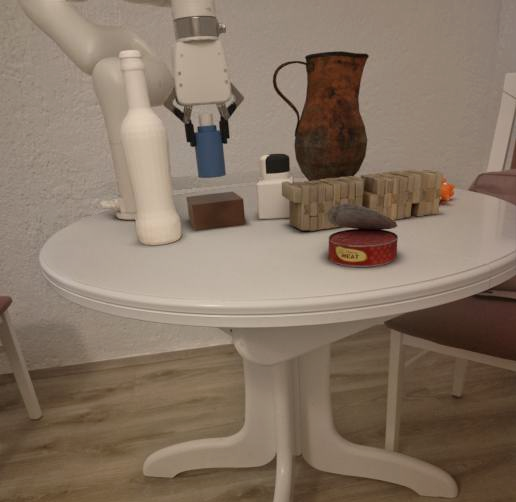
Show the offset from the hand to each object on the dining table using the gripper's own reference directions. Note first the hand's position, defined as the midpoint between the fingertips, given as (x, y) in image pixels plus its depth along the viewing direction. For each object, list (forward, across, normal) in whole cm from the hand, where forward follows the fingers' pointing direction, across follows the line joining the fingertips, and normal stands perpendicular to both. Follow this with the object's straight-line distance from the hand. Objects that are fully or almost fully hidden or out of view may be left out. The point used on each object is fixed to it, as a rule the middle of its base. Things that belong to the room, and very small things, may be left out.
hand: (208, 143), depth 92 cm
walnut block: (+15, 0, 0) cm, 15 cm away
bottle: (+15, +12, +9) cm, 21 cm away
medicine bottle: (+15, -13, 0) cm, 20 cm away
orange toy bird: (+15, -47, +5) cm, 50 cm away
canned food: (+15, -16, +35) cm, 41 cm away
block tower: (+15, -26, +13) cm, 33 cm away
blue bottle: (+6, 0, 0) cm, 6 cm away
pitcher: (+15, -29, -16) cm, 36 cm away
